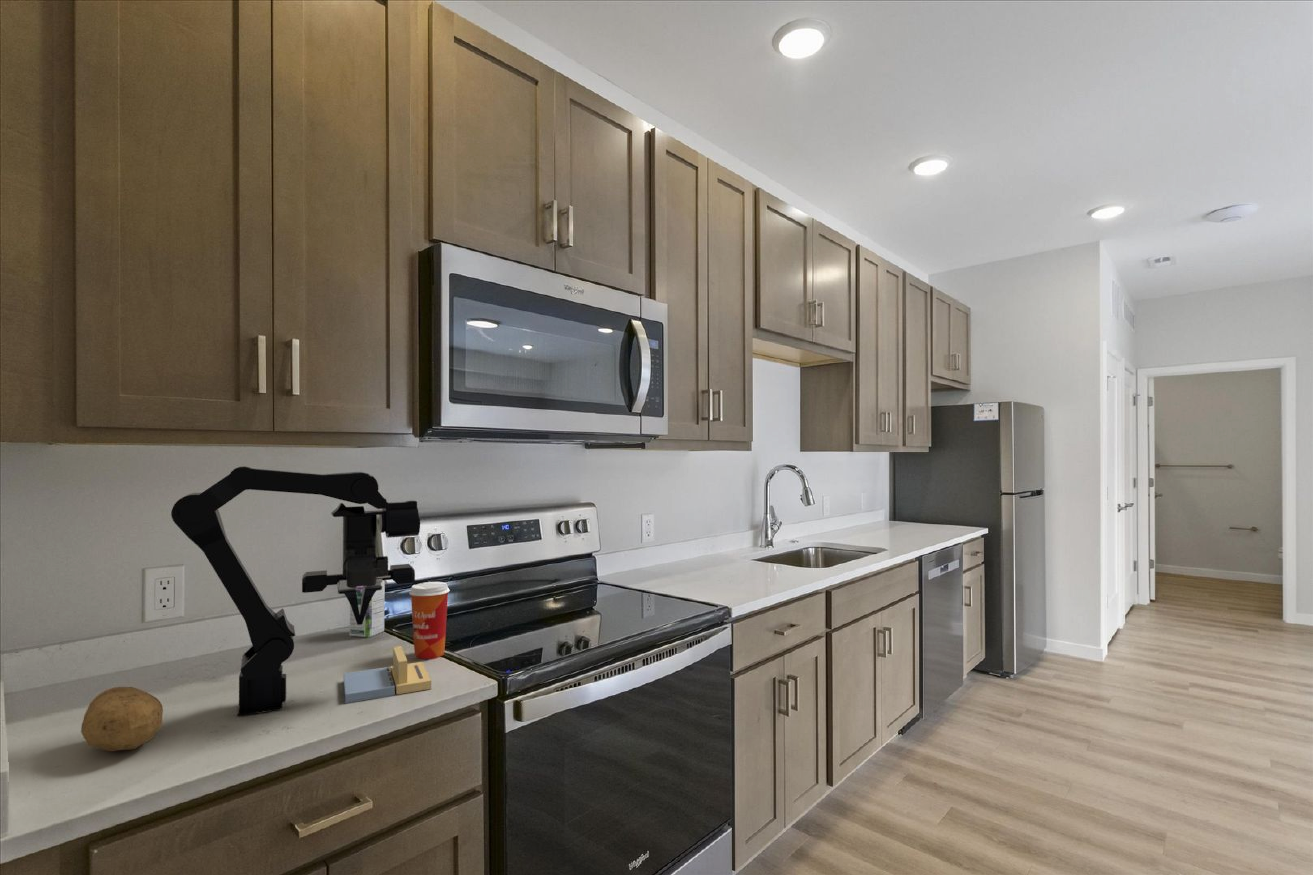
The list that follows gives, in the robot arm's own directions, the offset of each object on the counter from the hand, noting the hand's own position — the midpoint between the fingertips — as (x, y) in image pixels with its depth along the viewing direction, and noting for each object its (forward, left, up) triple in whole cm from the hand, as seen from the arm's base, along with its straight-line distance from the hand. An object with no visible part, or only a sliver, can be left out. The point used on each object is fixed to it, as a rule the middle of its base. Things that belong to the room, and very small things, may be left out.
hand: (359, 624), depth 120 cm
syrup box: (+4, +39, -12) cm, 41 cm away
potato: (-32, -9, -12) cm, 36 cm away
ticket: (+2, 0, -12) cm, 12 cm away
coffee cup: (+15, +15, -12) cm, 24 cm away
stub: (+9, 0, -12) cm, 15 cm away
